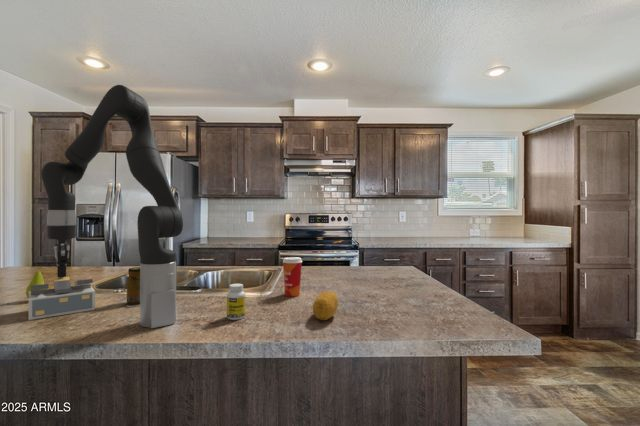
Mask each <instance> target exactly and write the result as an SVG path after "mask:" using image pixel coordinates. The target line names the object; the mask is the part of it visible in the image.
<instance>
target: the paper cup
mask: <svg viewBox="0 0 640 426" xmlns="http://www.w3.org/2000/svg"><path fill="white" fill-rule="evenodd" d="M302 264H303V260H302V258H301V257H296V256H289V257H284V258H283V260H282V265H283V280H284V281H283V283H284V295H285V296H286V297H298V296H300V294H301V293H300V292H301V283H302V282H301V281H302V279H301V278H302V267H303V266H302Z"/></svg>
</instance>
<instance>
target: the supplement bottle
mask: <svg viewBox="0 0 640 426" xmlns="http://www.w3.org/2000/svg"><path fill="white" fill-rule="evenodd" d="M228 288H229V292H228V293H227V294H226V318H227V319H228V320H231V321H236V320H242V319H244V318H245V317H246V292H245V291H243V290H244V284H242V283H232V284H229V286H228Z"/></svg>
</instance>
